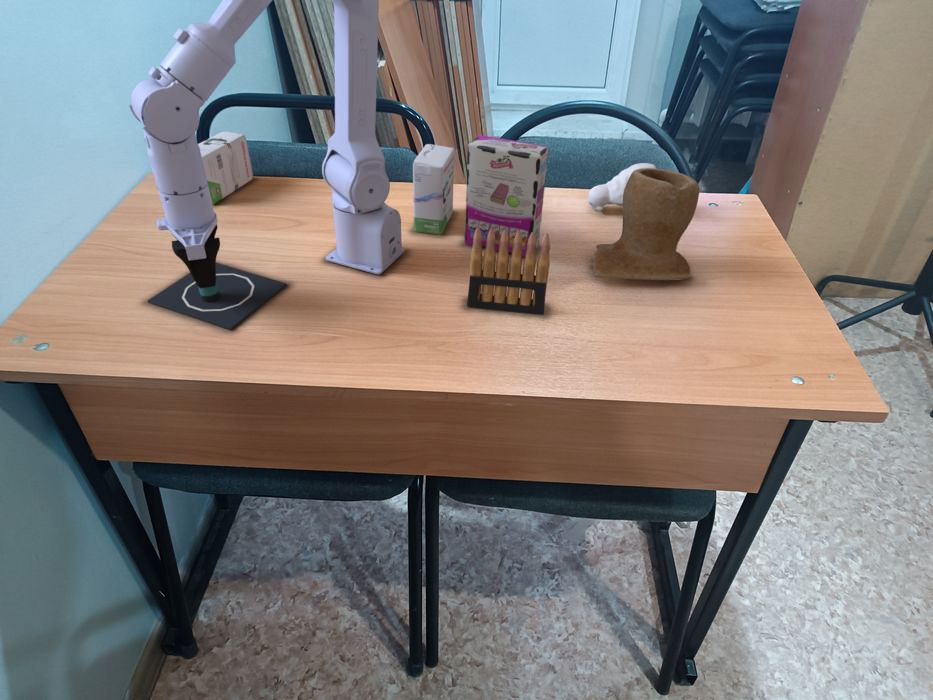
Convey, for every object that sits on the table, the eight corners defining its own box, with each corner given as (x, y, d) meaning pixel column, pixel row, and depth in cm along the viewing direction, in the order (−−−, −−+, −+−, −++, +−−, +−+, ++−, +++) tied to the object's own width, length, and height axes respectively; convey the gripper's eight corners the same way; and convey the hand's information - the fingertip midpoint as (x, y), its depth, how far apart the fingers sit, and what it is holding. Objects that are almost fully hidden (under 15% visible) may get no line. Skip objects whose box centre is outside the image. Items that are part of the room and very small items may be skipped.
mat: (287, 285, 92) (286, 283, 92) (230, 330, 84) (230, 328, 84) (209, 261, 97) (208, 259, 96) (147, 302, 88) (147, 300, 88)
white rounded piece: (665, 171, 107) (593, 176, 107) (659, 218, 112) (590, 222, 112) (656, 156, 112) (586, 161, 112) (650, 202, 117) (583, 206, 117)
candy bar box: (539, 245, 104) (551, 145, 94) (529, 260, 100) (541, 157, 90) (474, 231, 107) (479, 132, 97) (463, 244, 103) (466, 143, 93)
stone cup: (675, 250, 104) (698, 160, 95) (695, 290, 95) (723, 195, 86) (581, 247, 104) (595, 156, 95) (592, 287, 95) (609, 191, 85)
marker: (223, 295, 89) (209, 237, 84) (211, 304, 88) (196, 245, 82) (209, 290, 90) (194, 233, 84) (197, 299, 88) (181, 241, 83)
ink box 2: (442, 235, 105) (443, 166, 98) (412, 231, 106) (411, 162, 99) (453, 212, 112) (455, 145, 105) (426, 209, 113) (425, 142, 105)
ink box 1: (189, 200, 112) (231, 176, 121) (214, 205, 111) (254, 180, 120) (178, 151, 107) (222, 129, 116) (203, 156, 105) (246, 134, 114)
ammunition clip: (466, 307, 90) (469, 229, 82) (468, 299, 91) (471, 222, 84) (544, 315, 89) (554, 237, 81) (544, 307, 90) (554, 230, 83)
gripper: (147, 165, 83) (173, 258, 91) (147, 215, 72) (176, 315, 81) (205, 159, 85) (225, 250, 93) (213, 207, 74) (235, 305, 83)
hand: (206, 280), depth 87 cm, fingers closed on marker, 2 cm apart
